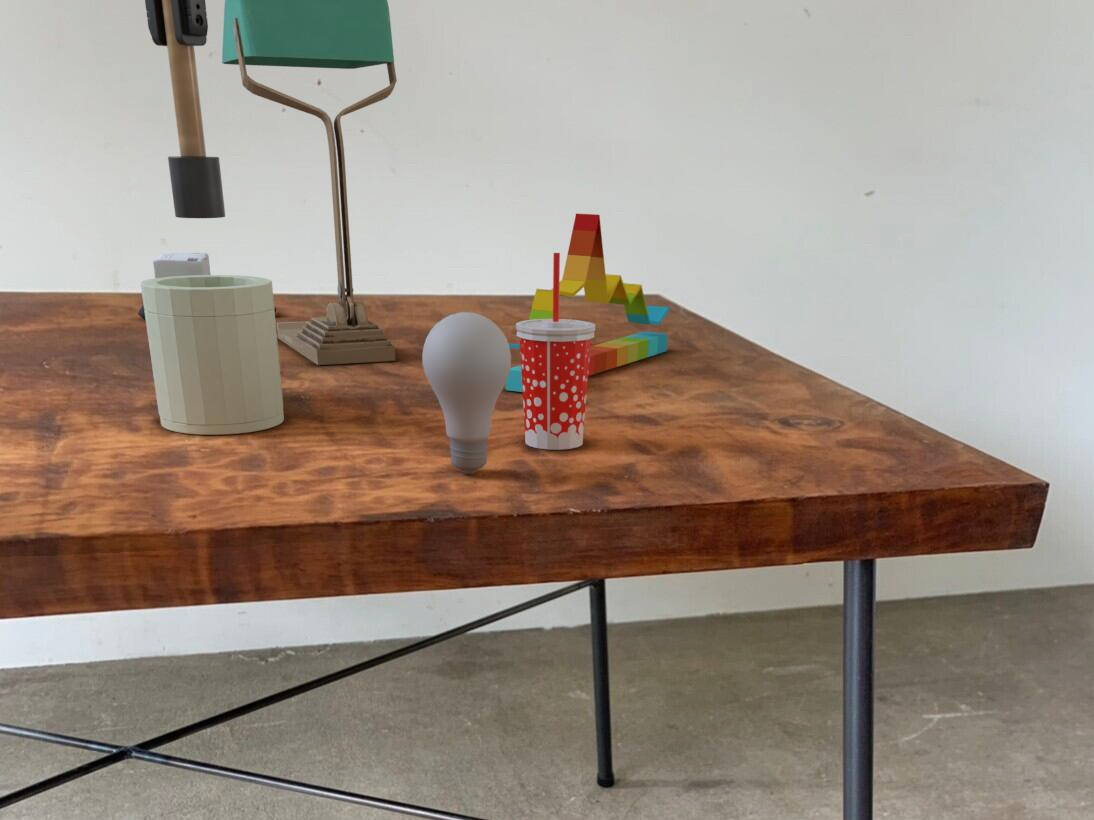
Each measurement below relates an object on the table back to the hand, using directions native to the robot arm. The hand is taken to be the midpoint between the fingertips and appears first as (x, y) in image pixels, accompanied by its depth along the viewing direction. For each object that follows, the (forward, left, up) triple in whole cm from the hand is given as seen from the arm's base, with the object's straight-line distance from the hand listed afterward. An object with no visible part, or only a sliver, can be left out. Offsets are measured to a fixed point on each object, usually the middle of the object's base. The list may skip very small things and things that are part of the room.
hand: (180, 44), depth 81 cm
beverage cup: (+23, -14, -27) cm, 38 cm away
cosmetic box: (+1, +14, -27) cm, 31 cm away
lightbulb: (+13, -20, -27) cm, 36 cm away
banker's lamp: (+21, +37, -27) cm, 50 cm away
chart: (+42, +14, -27) cm, 52 cm away
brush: (0, 0, -11) cm, 11 cm away
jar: (+1, +4, -27) cm, 27 cm away
